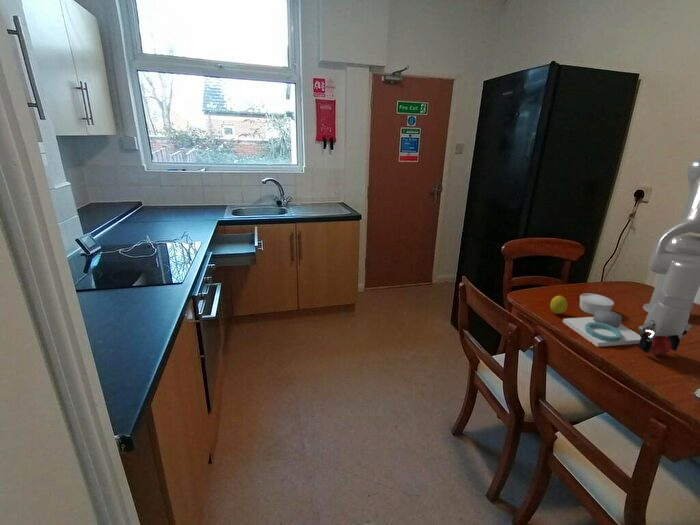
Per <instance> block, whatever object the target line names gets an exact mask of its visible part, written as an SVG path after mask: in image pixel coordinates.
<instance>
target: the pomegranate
mask: <svg viewBox="0 0 700 525" xmlns="http://www.w3.org/2000/svg"><path fill="white" fill-rule="evenodd" d="M652 342H653V343H652V346H651V348H650V351H649V352H651V353H652V354H653V355H655V356H659V355H663V354H667V353H669V352H670V351H671V350H672V349H671V342H670V340H669V339H668V336H656V337H655V338H654V339H653V340H652Z"/></svg>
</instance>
